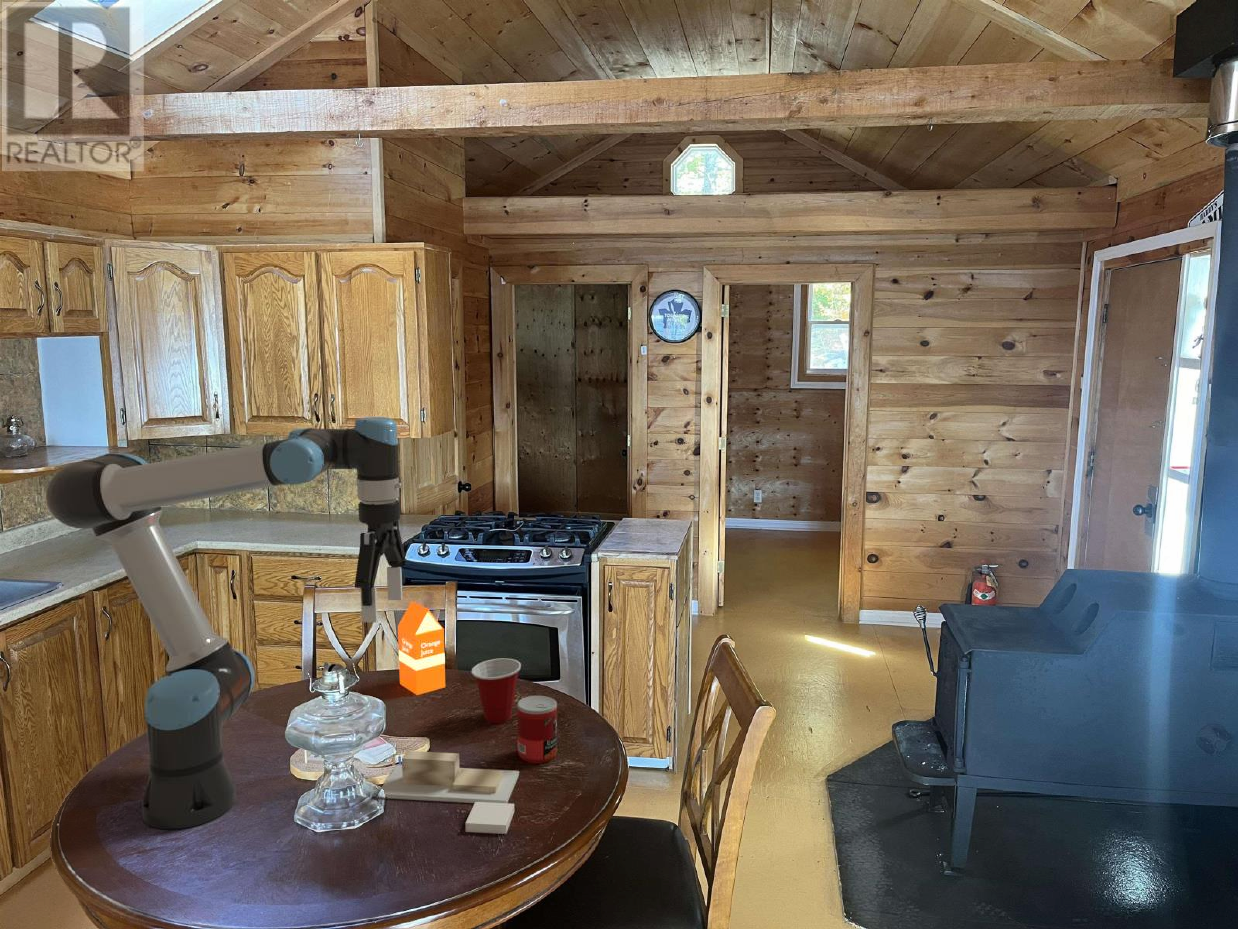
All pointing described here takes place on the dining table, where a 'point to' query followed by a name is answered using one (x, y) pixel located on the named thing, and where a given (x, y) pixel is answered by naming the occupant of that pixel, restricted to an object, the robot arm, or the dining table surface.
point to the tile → (490, 817)
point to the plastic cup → (497, 687)
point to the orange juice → (421, 651)
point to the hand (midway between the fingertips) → (382, 610)
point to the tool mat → (447, 789)
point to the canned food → (537, 729)
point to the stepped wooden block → (447, 772)
